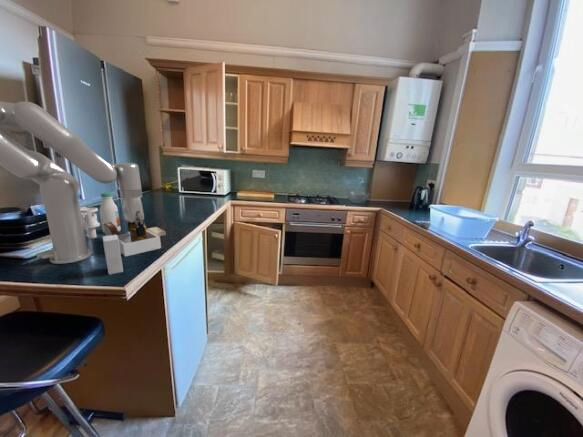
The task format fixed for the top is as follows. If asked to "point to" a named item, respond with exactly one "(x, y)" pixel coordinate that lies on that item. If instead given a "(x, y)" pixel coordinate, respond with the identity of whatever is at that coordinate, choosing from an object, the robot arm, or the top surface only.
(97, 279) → the top surface
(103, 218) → the milk bottle
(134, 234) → the condiment
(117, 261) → the skincare box
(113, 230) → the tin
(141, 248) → the bin
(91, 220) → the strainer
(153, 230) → the board
